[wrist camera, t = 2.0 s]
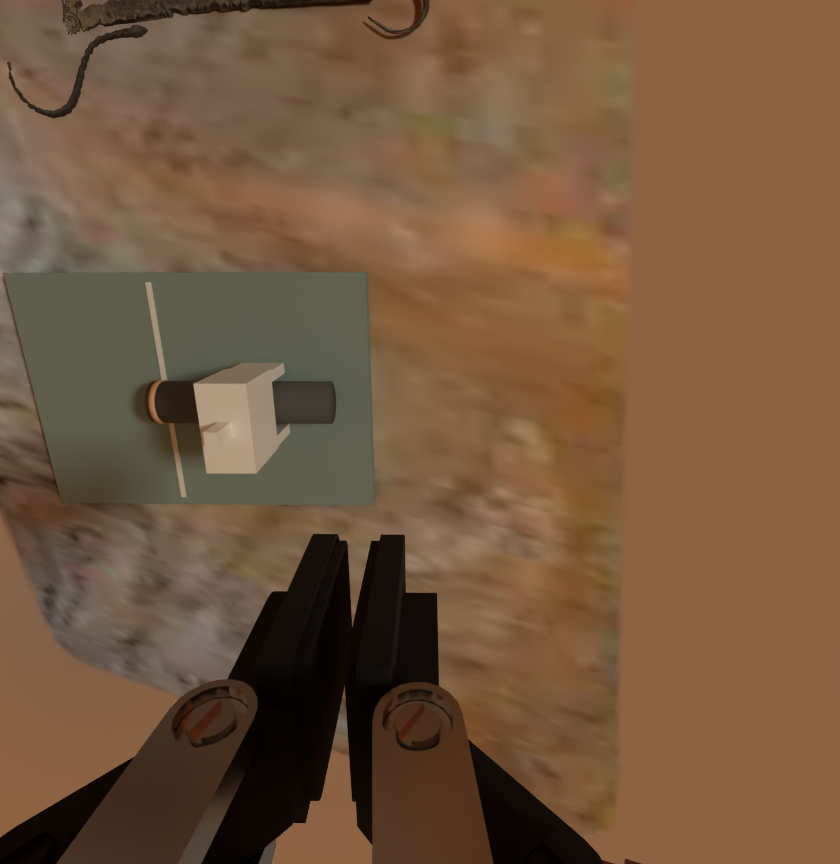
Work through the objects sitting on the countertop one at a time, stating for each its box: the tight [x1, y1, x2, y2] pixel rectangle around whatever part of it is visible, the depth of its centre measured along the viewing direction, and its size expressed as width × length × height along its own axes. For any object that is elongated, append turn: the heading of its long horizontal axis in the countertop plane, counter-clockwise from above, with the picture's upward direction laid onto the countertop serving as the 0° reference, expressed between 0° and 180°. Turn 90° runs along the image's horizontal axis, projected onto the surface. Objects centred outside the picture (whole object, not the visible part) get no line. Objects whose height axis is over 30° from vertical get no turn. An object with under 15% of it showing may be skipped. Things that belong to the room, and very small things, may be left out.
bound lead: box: [144, 380, 336, 424], centre depth 28 cm, size 2×10×2 cm, turn 90°
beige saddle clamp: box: [193, 363, 290, 474], centre depth 25 cm, size 4×2×8 cm, turn 0°
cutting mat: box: [3, 272, 375, 505], centre depth 29 cm, size 14×20×1 cm
